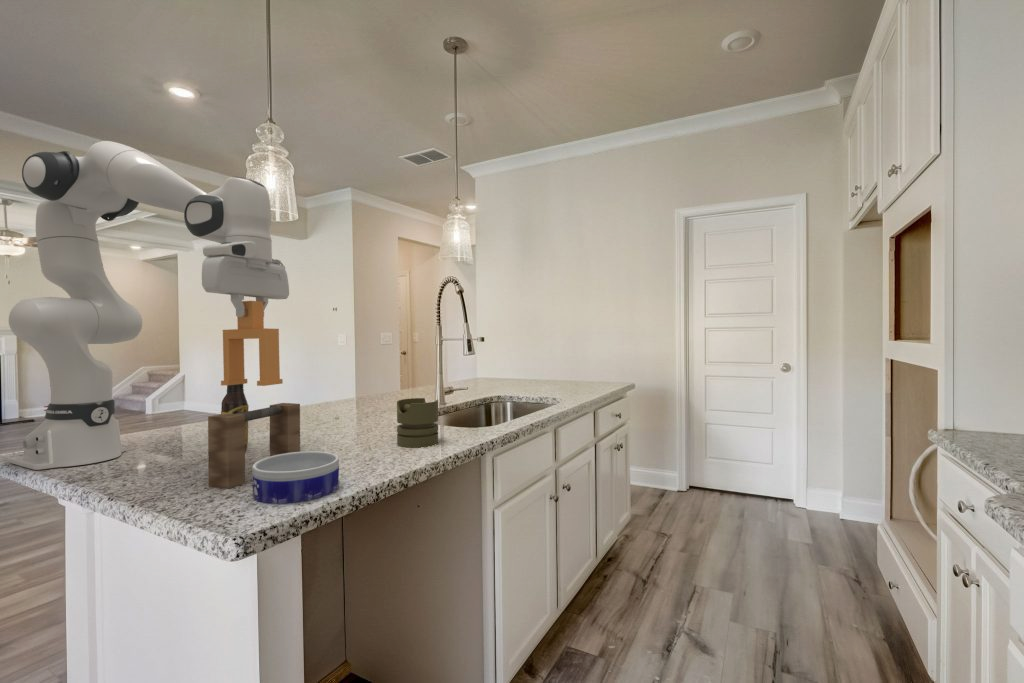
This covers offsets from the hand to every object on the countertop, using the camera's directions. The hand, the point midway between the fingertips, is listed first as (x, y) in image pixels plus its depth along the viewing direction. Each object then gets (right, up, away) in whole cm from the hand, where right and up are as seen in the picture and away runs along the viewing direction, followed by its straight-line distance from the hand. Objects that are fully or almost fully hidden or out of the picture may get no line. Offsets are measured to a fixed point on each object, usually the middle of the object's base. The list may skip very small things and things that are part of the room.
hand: (250, 317), depth 102 cm
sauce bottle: (-16, -34, +21) cm, 43 cm away
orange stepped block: (0, -15, 0) cm, 15 cm away
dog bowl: (+15, -35, -11) cm, 39 cm away
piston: (+30, -34, +30) cm, 54 cm away
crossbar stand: (+1, -34, 0) cm, 34 cm away
